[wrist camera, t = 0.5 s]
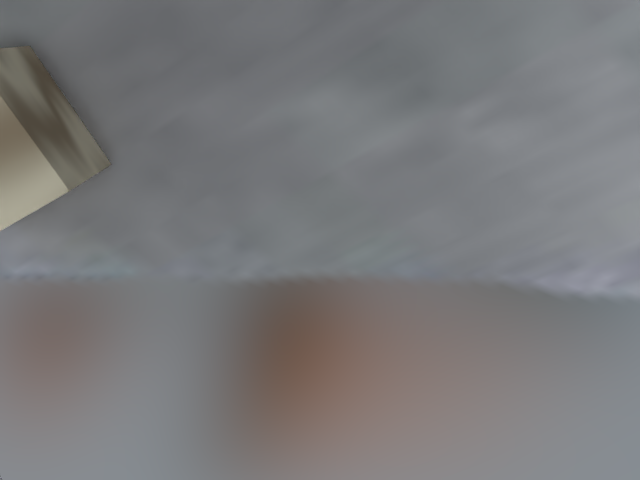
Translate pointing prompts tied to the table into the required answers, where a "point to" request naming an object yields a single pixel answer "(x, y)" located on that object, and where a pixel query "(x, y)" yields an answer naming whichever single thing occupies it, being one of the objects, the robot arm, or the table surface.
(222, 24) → the table surface
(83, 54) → the table surface
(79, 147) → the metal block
